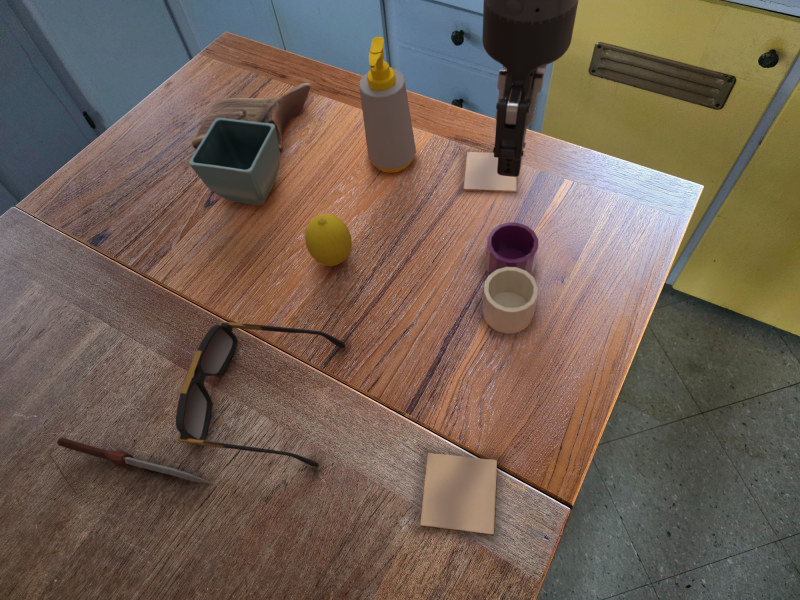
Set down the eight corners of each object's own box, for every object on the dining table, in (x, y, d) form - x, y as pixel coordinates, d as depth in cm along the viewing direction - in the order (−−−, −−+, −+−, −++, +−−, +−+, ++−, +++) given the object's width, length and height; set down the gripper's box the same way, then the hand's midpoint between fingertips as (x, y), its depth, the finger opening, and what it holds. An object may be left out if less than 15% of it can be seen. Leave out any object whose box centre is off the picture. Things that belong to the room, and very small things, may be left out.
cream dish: (533, 292, 66) (538, 268, 61) (532, 335, 63) (538, 313, 58) (484, 289, 66) (485, 265, 62) (481, 331, 63) (482, 309, 59)
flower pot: (293, 172, 80) (275, 123, 72) (271, 219, 75) (250, 172, 68) (238, 165, 81) (215, 116, 74) (213, 210, 77) (186, 163, 70)
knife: (222, 478, 57) (211, 471, 55) (216, 493, 57) (205, 487, 54) (73, 440, 61) (56, 431, 59) (66, 453, 60) (48, 445, 58)
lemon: (305, 261, 71) (288, 221, 64) (336, 235, 73) (324, 194, 66) (333, 285, 69) (319, 246, 62) (365, 257, 70) (355, 217, 64)
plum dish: (533, 248, 69) (538, 223, 64) (533, 288, 66) (538, 263, 62) (486, 246, 70) (488, 221, 65) (484, 285, 67) (485, 261, 62)
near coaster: (496, 460, 56) (497, 460, 55) (493, 534, 52) (493, 534, 52) (427, 453, 57) (427, 452, 57) (420, 525, 53) (420, 525, 53)
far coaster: (517, 154, 77) (517, 153, 77) (516, 192, 74) (516, 190, 74) (467, 153, 78) (467, 151, 78) (463, 190, 75) (463, 188, 75)
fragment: (228, 104, 91) (216, 76, 87) (319, 104, 88) (311, 75, 84) (197, 157, 84) (182, 130, 80) (295, 159, 80) (284, 131, 76)
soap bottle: (365, 176, 78) (342, 64, 63) (373, 141, 81) (352, 27, 66) (413, 177, 77) (402, 64, 62) (419, 142, 80) (409, 26, 65)
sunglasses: (318, 467, 57) (307, 454, 53) (183, 449, 59) (162, 434, 55) (346, 347, 64) (338, 326, 60) (224, 334, 66) (208, 314, 62)
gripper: (569, 48, 40) (542, 200, 54) (588, -56, 47) (559, 102, 60) (467, 41, 41) (465, 189, 55) (499, -59, 48) (491, 96, 62)
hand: (515, 144), depth 58 cm, fingers open, 8 cm apart
